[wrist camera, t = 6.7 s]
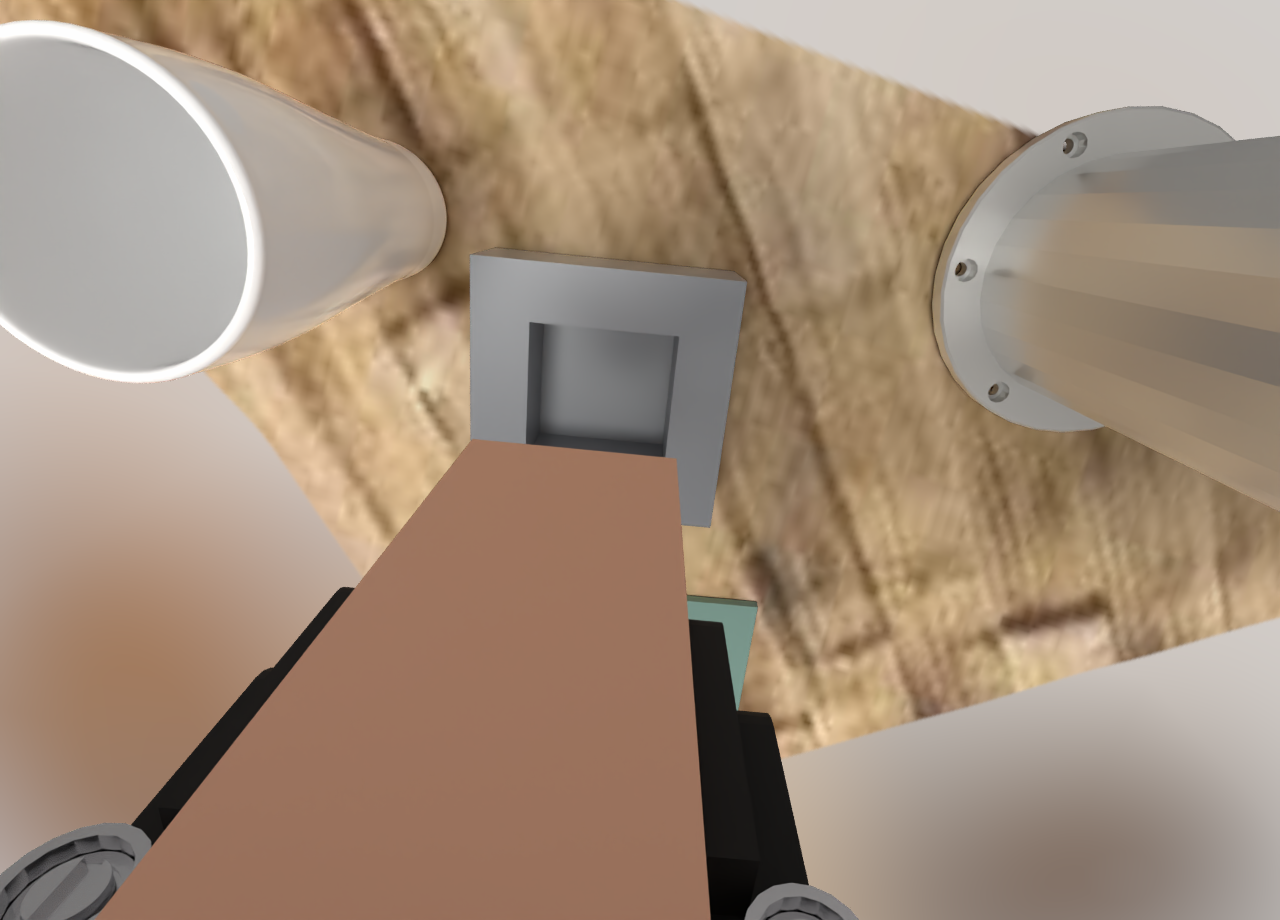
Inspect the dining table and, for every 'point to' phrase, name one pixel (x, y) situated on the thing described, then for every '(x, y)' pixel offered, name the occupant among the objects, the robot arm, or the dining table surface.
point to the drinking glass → (185, 207)
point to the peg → (472, 722)
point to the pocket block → (606, 359)
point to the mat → (729, 630)
